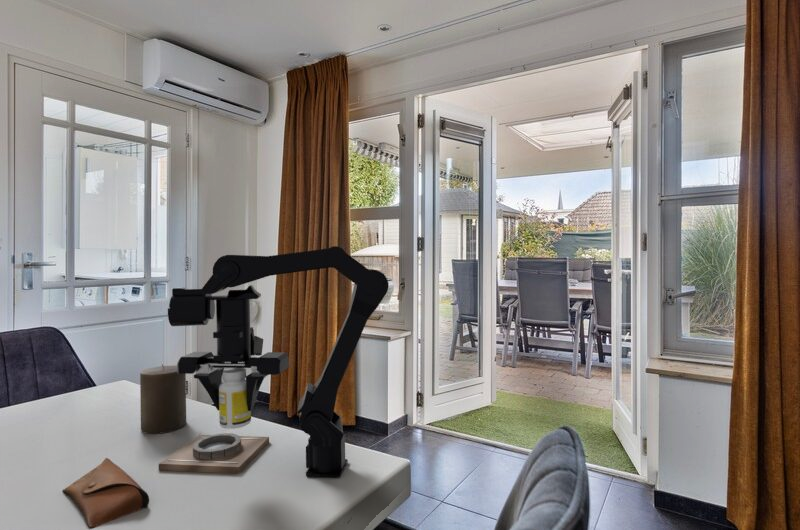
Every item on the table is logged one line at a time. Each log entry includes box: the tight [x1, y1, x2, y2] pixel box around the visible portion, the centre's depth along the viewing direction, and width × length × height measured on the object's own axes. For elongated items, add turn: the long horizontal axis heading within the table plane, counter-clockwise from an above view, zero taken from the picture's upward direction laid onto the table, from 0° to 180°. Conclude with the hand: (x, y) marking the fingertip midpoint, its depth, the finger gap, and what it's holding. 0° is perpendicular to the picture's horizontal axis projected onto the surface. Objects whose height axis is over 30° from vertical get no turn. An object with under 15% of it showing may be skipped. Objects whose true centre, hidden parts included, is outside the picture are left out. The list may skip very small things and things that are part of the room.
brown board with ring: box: [158, 432, 270, 474], centre depth 92 cm, size 16×14×3 cm
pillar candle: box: [139, 364, 187, 435], centre depth 108 cm, size 10×10×15 cm
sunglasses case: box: [62, 457, 150, 529], centre depth 77 cm, size 18×7×7 cm, turn 49°
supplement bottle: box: [218, 368, 252, 430], centre depth 82 cm, size 5×5×10 cm
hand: (235, 410), depth 82 cm, fingers closed on supplement bottle, 5 cm apart
